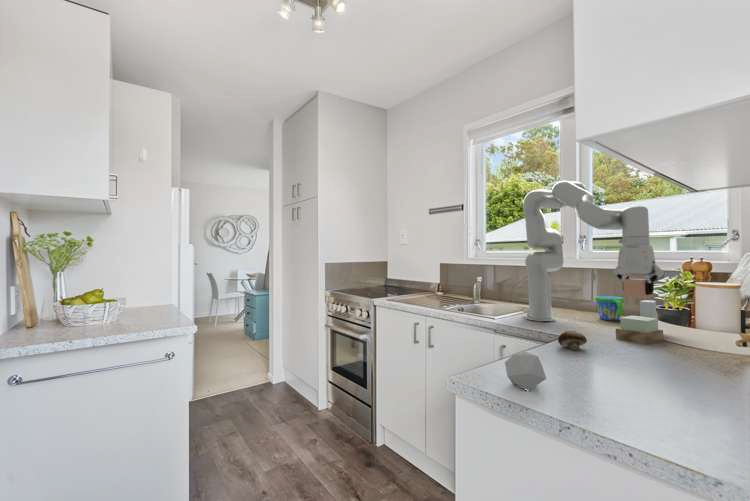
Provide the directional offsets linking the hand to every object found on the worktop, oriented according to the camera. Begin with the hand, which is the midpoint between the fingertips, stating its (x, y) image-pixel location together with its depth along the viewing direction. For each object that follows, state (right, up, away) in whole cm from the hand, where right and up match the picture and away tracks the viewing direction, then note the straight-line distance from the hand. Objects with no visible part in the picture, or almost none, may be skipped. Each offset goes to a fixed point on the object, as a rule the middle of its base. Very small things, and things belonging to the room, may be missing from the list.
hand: (637, 293), depth 122 cm
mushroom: (-29, -17, -10) cm, 35 cm away
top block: (0, -13, 0) cm, 13 cm away
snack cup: (+15, -17, +37) cm, 44 cm away
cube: (0, -1, 0) cm, 1 cm away
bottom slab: (0, -17, 0) cm, 17 cm away
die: (-57, -17, -41) cm, 72 cm away
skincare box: (+11, -16, +9) cm, 22 cm away
